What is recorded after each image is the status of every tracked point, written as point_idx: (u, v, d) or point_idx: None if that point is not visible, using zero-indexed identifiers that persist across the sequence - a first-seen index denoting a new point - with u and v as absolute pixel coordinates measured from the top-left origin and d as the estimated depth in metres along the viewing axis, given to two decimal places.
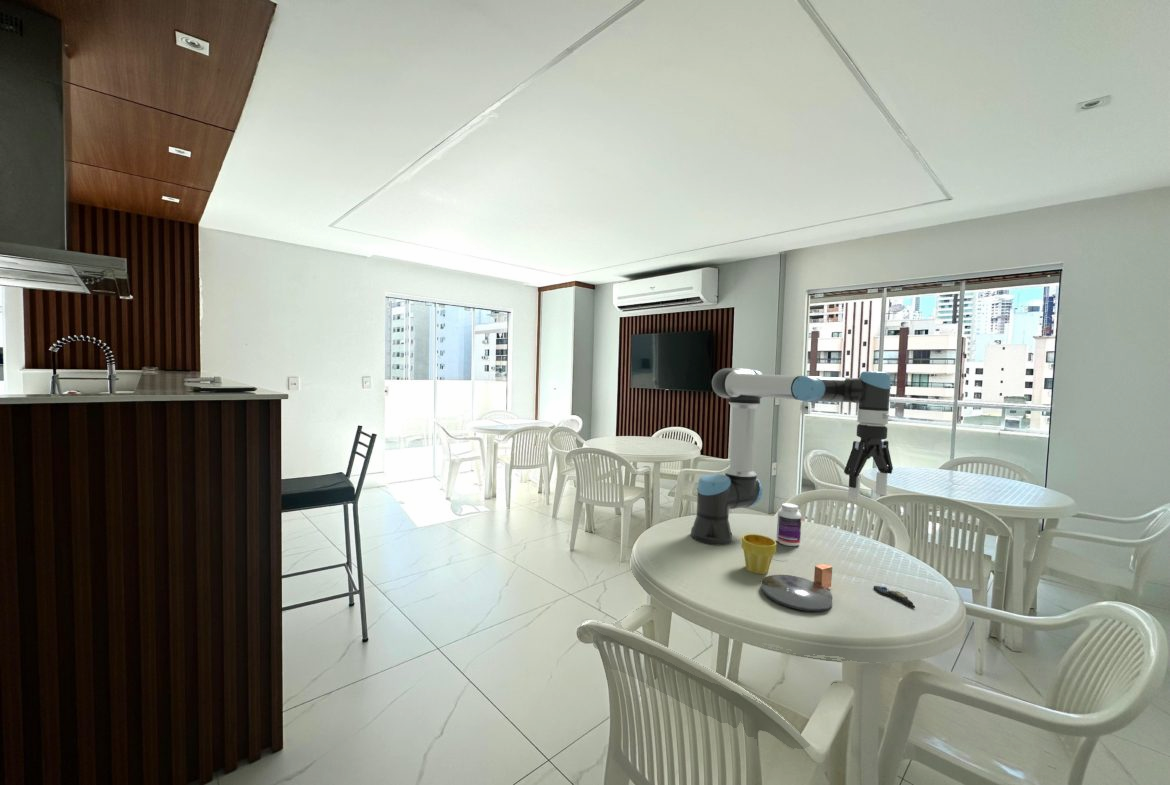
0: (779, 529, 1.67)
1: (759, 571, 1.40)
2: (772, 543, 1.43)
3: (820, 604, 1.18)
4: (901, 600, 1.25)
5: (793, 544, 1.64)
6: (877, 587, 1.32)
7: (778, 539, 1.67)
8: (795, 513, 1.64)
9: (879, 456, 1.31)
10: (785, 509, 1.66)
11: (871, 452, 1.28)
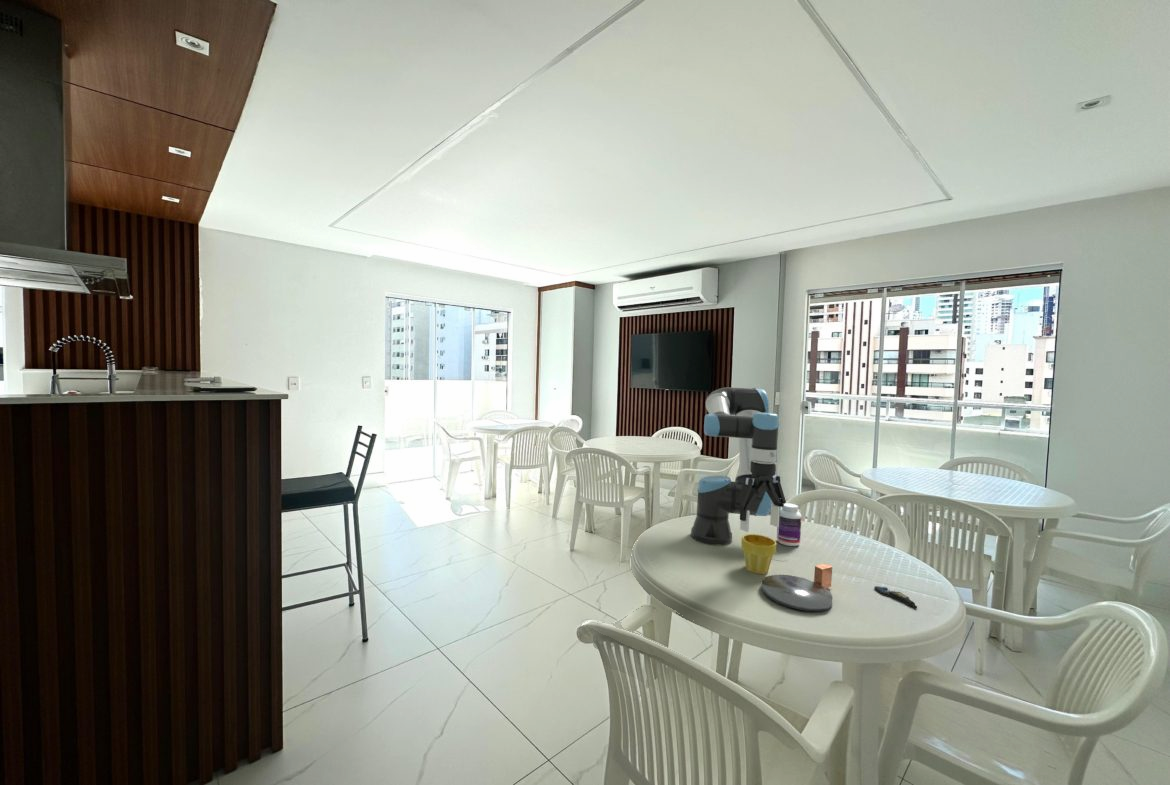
0: (779, 529, 1.67)
1: (759, 571, 1.40)
2: (772, 543, 1.43)
3: (820, 604, 1.18)
4: (903, 600, 1.25)
5: (793, 544, 1.64)
6: (878, 587, 1.32)
7: (778, 539, 1.67)
8: (795, 513, 1.64)
9: (770, 491, 1.42)
10: (785, 509, 1.66)
11: (760, 488, 1.39)
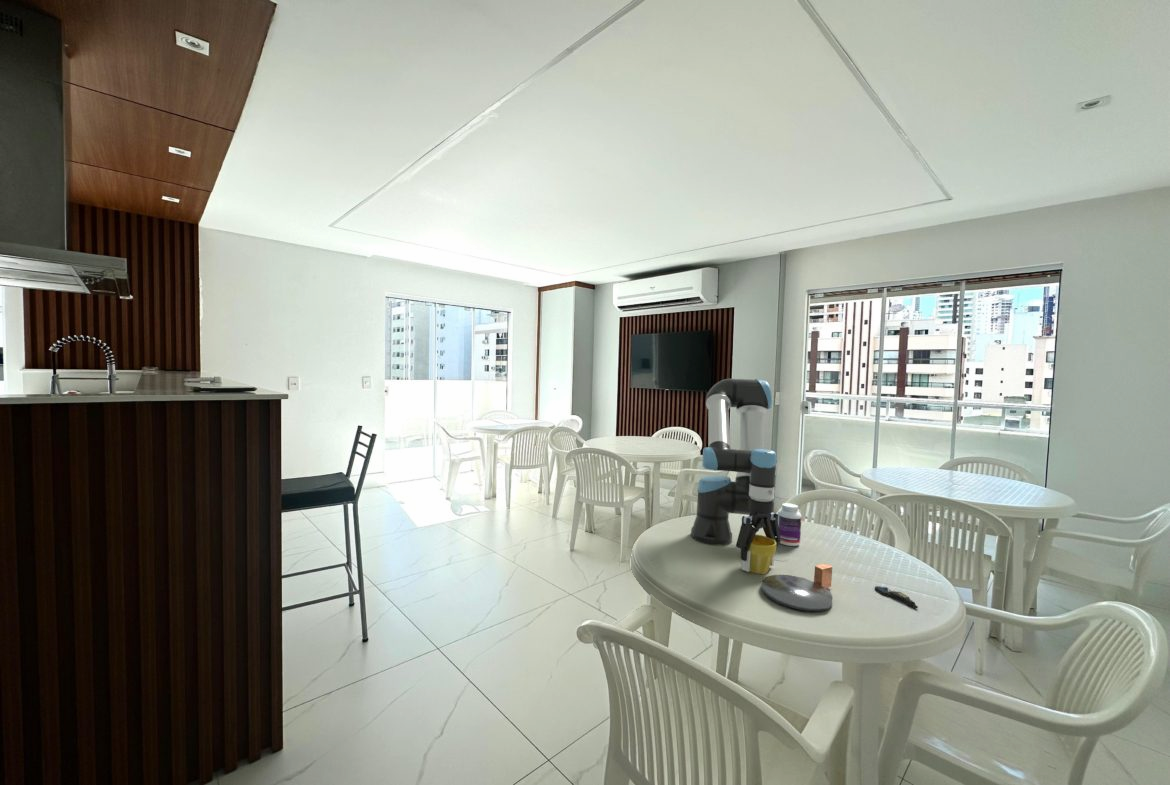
0: (779, 529, 1.67)
1: (759, 571, 1.40)
2: (772, 543, 1.43)
3: (820, 604, 1.18)
4: (903, 600, 1.25)
5: (793, 544, 1.64)
6: (878, 587, 1.32)
7: None
8: (795, 513, 1.64)
9: (767, 528, 1.43)
10: (785, 509, 1.66)
11: (759, 525, 1.40)
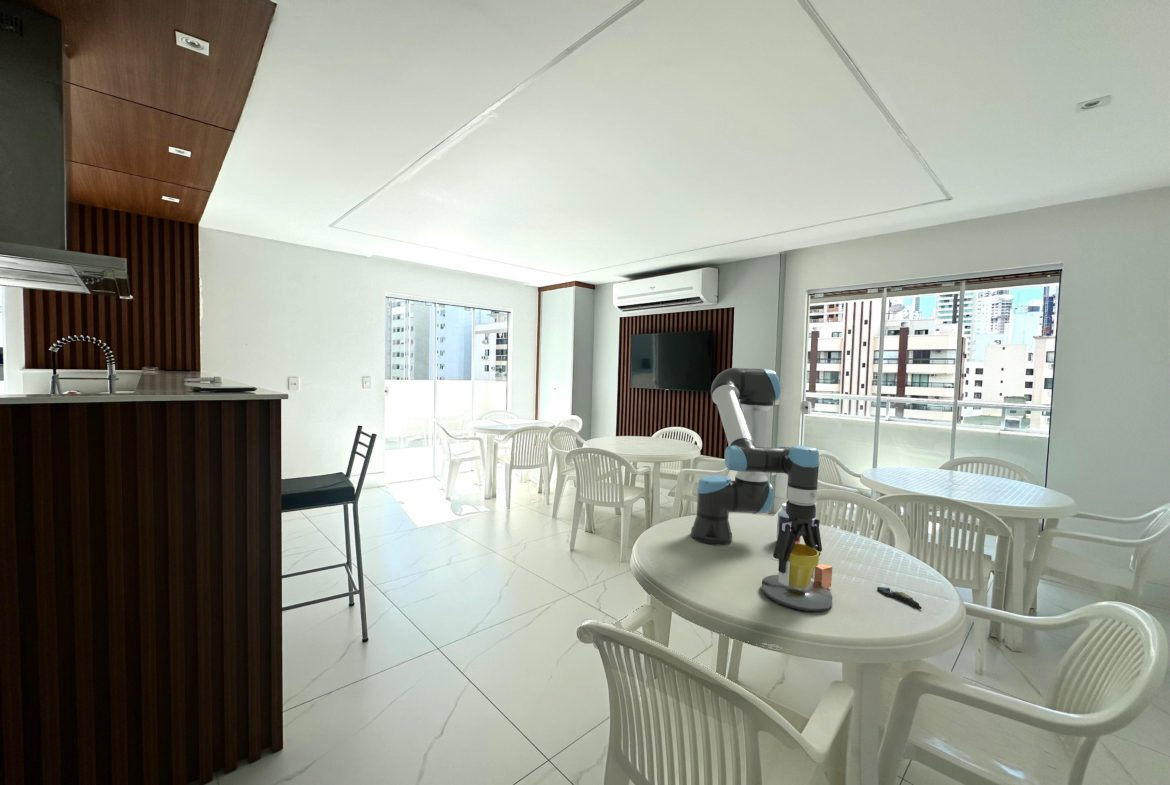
0: (779, 529, 1.67)
1: (800, 585, 1.23)
2: (813, 553, 1.26)
3: (820, 604, 1.18)
4: (907, 601, 1.24)
5: None
6: (881, 588, 1.31)
7: None
8: None
9: (808, 536, 1.26)
10: (785, 509, 1.66)
11: (799, 533, 1.23)
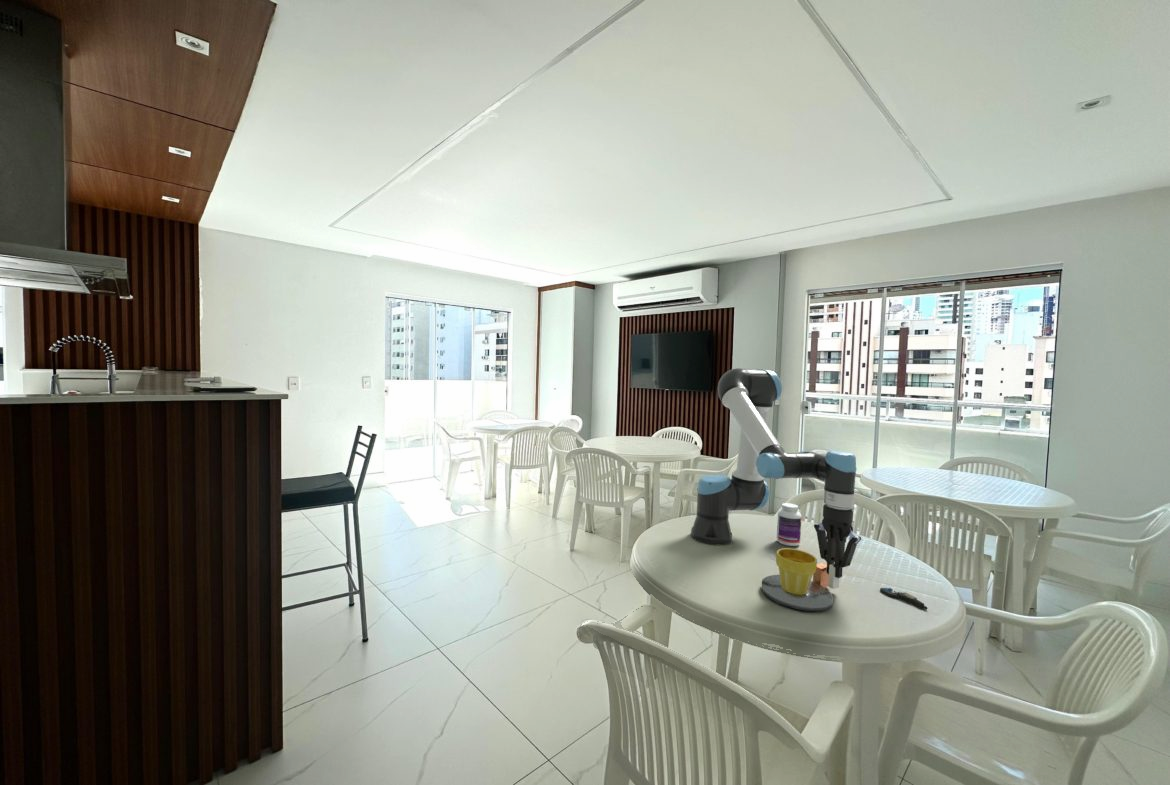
0: (779, 529, 1.67)
1: (798, 591, 1.23)
2: (811, 559, 1.26)
3: (821, 604, 1.18)
4: (912, 602, 1.24)
5: (793, 544, 1.64)
6: (884, 589, 1.31)
7: (778, 539, 1.67)
8: (795, 513, 1.64)
9: None
10: (785, 509, 1.66)
11: (828, 533, 1.29)
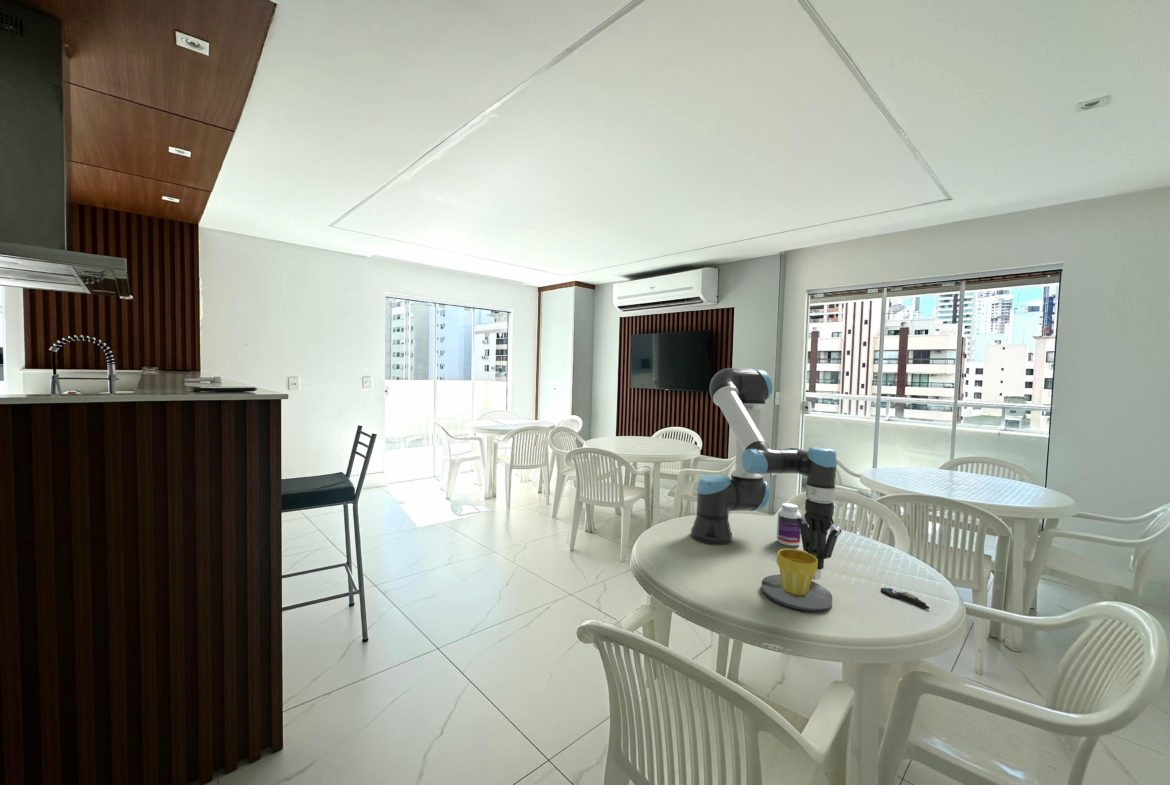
0: (779, 529, 1.67)
1: (804, 592, 1.22)
2: (806, 556, 1.28)
3: (829, 600, 1.20)
4: (913, 601, 1.24)
5: (793, 544, 1.64)
6: (885, 589, 1.31)
7: (778, 539, 1.67)
8: (795, 513, 1.64)
9: None
10: (785, 509, 1.66)
11: (810, 526, 1.34)
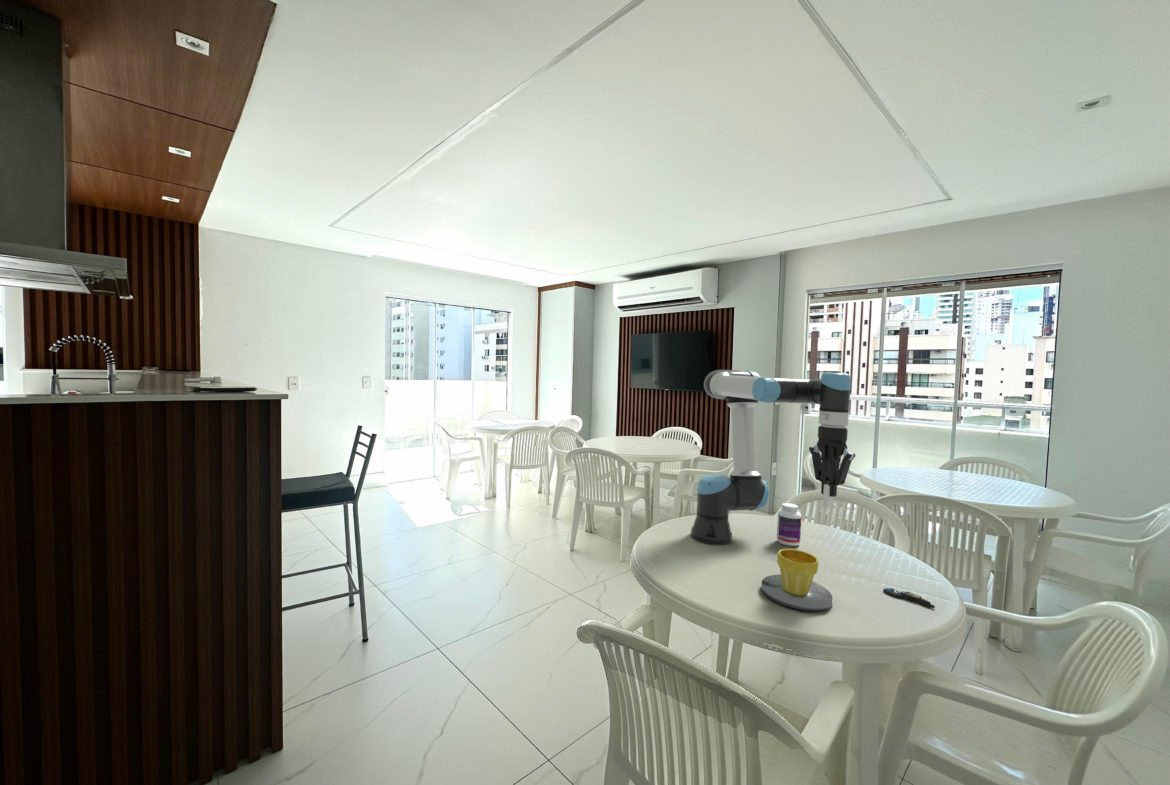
0: (779, 529, 1.67)
1: (806, 592, 1.23)
2: (804, 555, 1.28)
3: (830, 598, 1.21)
4: (918, 601, 1.25)
5: (793, 544, 1.64)
6: (887, 590, 1.30)
7: (778, 539, 1.67)
8: (795, 513, 1.64)
9: None
10: (785, 509, 1.66)
11: (823, 454, 1.30)
